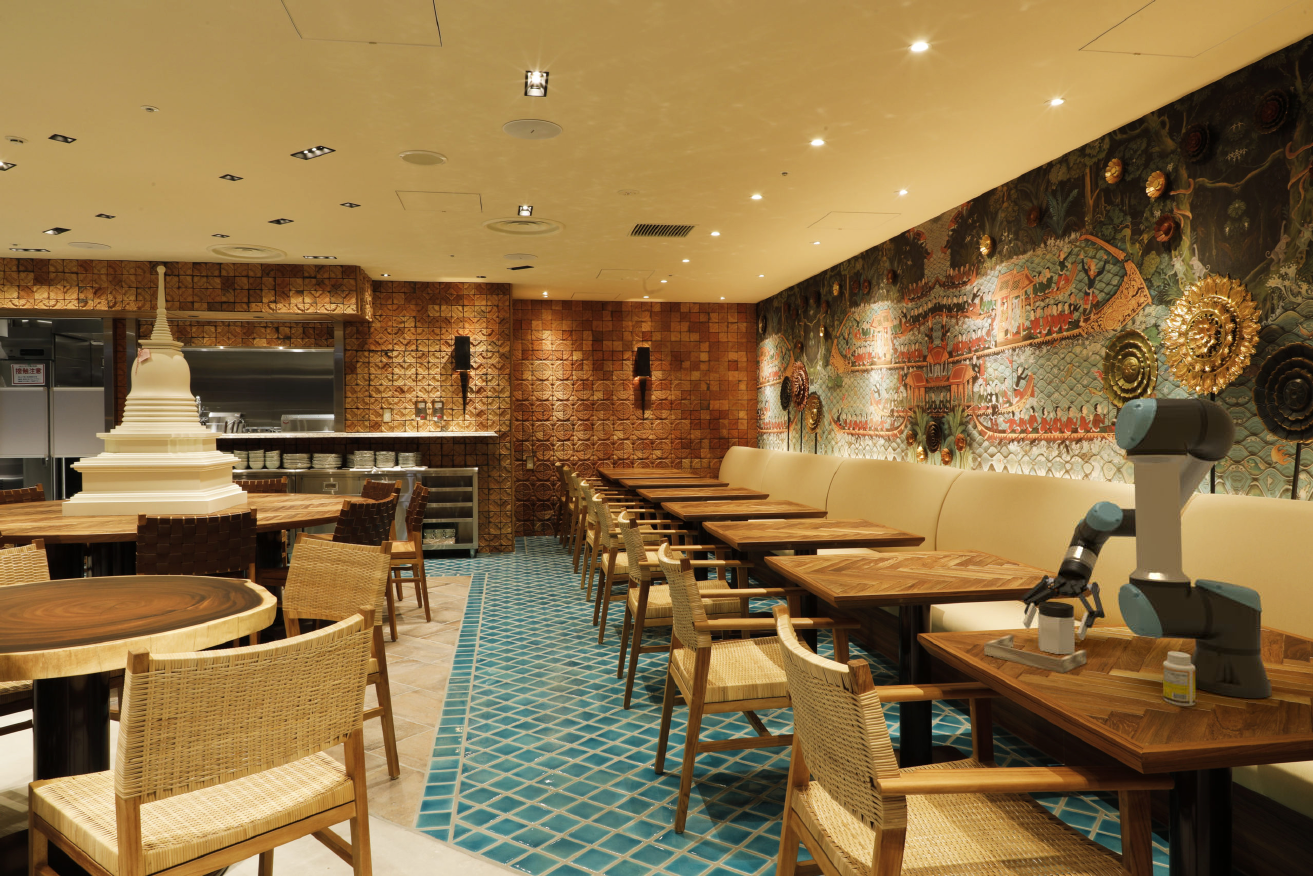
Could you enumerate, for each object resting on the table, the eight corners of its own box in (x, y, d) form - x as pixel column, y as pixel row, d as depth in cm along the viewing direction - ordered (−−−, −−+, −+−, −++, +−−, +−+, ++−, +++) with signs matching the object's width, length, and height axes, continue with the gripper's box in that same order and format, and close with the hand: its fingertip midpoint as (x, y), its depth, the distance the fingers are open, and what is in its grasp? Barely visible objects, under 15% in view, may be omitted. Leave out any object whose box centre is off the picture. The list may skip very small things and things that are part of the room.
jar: (1036, 644, 200) (1036, 600, 200) (1070, 647, 197) (1070, 602, 197) (1040, 653, 192) (1041, 606, 192) (1076, 656, 189) (1076, 609, 189)
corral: (1009, 646, 198) (1009, 634, 198) (1086, 662, 184) (1086, 650, 184) (984, 655, 190) (984, 643, 190) (1062, 673, 175) (1062, 660, 175)
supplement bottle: (1180, 697, 159) (1180, 649, 159) (1202, 707, 153) (1202, 657, 153) (1156, 698, 158) (1156, 650, 158) (1177, 707, 153) (1177, 658, 153)
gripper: (1132, 582, 195) (1109, 650, 185) (1034, 569, 214) (1009, 629, 205) (1124, 564, 191) (1100, 632, 182) (1026, 553, 211) (1000, 613, 201)
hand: (1052, 631), depth 193 cm, fingers open, 13 cm apart
